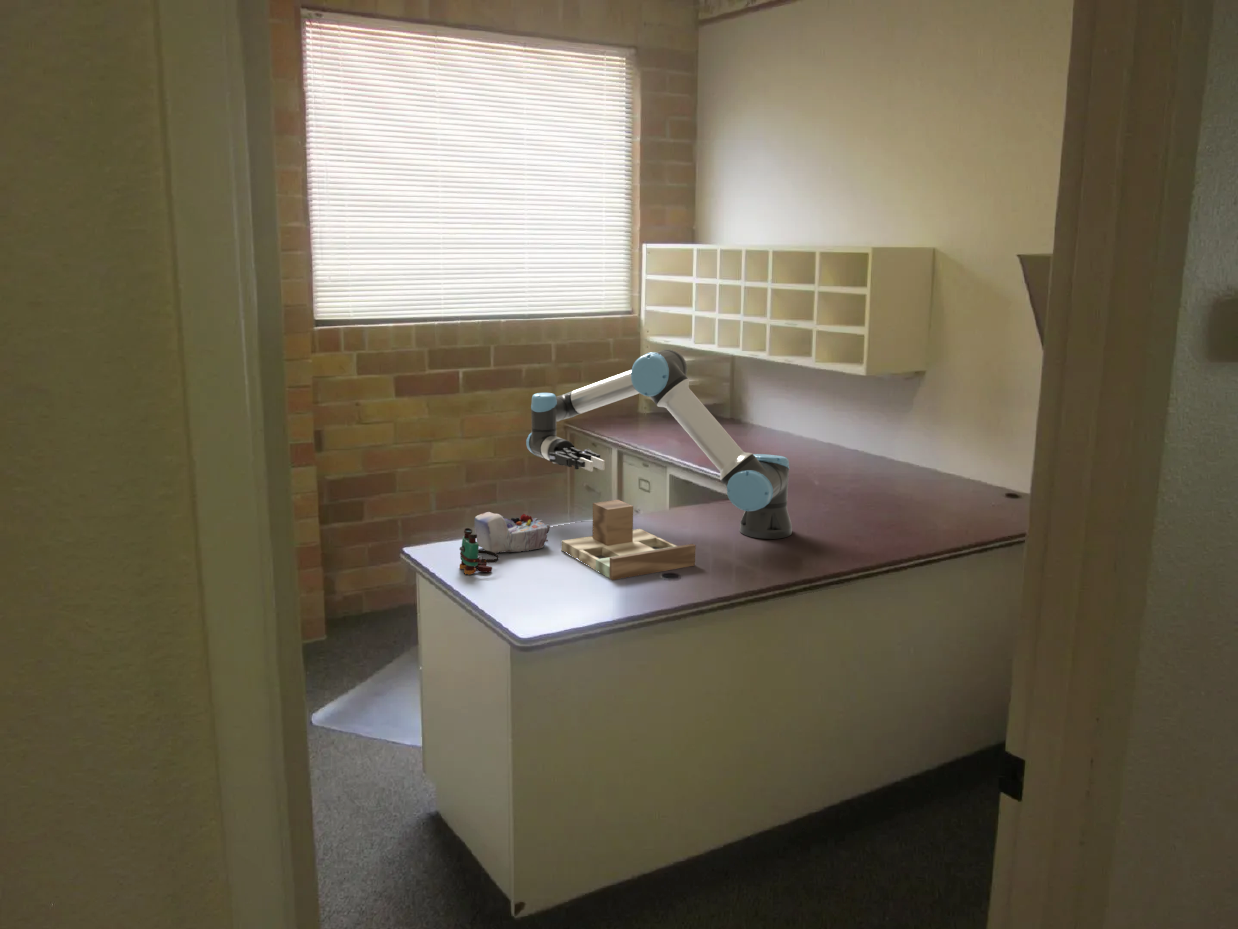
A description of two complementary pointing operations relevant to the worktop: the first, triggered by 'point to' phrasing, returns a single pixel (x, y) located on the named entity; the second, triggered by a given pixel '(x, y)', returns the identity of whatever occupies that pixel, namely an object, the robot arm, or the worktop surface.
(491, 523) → the cell model
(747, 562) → the worktop surface
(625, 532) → the walnut block
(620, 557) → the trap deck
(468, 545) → the binoculars
